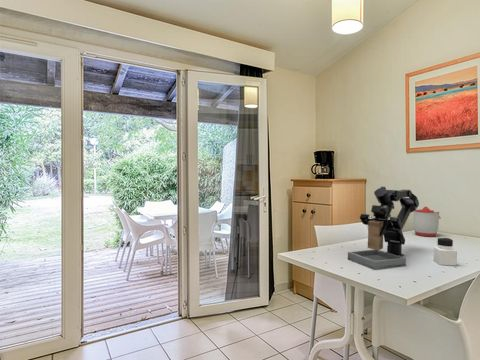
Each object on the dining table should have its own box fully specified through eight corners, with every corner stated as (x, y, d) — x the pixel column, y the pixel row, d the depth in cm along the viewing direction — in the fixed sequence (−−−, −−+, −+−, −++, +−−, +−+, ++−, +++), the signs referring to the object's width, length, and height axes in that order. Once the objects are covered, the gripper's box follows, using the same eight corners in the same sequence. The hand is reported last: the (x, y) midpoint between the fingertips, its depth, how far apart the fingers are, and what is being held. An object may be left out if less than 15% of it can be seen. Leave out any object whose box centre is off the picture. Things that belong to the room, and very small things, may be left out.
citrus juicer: (446, 237, 204) (447, 207, 204) (420, 237, 205) (421, 207, 204) (432, 233, 220) (432, 205, 219) (408, 233, 220) (408, 205, 220)
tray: (376, 255, 159) (376, 249, 159) (405, 265, 142) (405, 258, 142) (347, 259, 153) (347, 252, 153) (374, 269, 136) (374, 261, 136)
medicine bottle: (456, 265, 142) (457, 240, 142) (439, 265, 143) (440, 239, 143) (449, 261, 149) (449, 237, 148) (433, 260, 150) (433, 236, 150)
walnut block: (372, 246, 151) (373, 220, 150) (382, 248, 147) (383, 221, 146) (367, 247, 148) (368, 221, 147) (377, 250, 144) (379, 222, 143)
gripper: (361, 198, 156) (350, 221, 149) (400, 200, 142) (389, 227, 135) (368, 212, 162) (358, 235, 155) (406, 215, 148) (396, 242, 141)
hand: (374, 234), depth 146 cm, fingers closed on walnut block, 5 cm apart
